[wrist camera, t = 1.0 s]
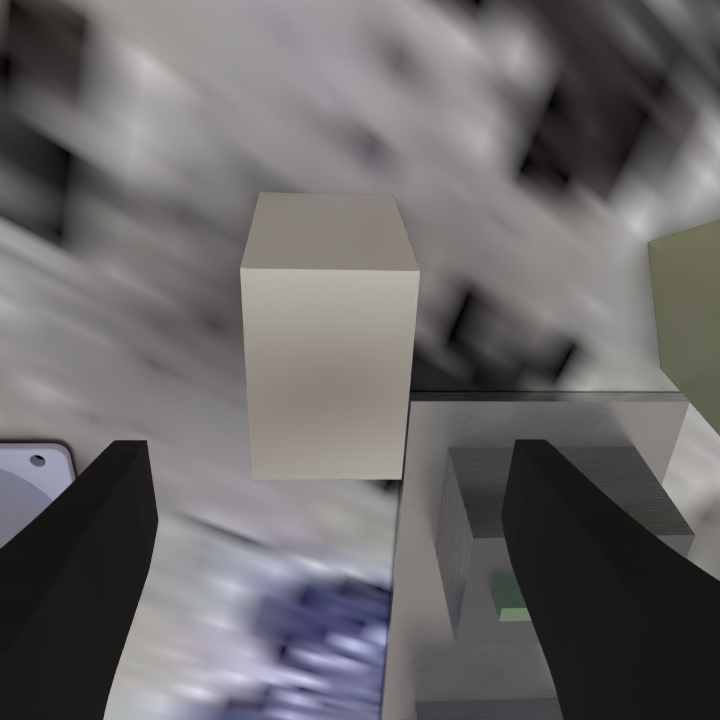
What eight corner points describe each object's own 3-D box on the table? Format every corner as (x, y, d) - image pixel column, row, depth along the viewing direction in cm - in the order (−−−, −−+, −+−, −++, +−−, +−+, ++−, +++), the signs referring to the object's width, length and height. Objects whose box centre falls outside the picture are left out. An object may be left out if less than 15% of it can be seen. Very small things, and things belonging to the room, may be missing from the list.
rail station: (374, 773, 36) (385, 907, 30) (408, 392, 24) (435, 506, 19) (558, 766, 36) (598, 895, 31) (681, 392, 24) (779, 503, 19)
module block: (266, 375, 23) (252, 491, 18) (259, 191, 20) (240, 268, 15) (381, 376, 23) (400, 490, 18) (393, 194, 20) (420, 271, 15)
